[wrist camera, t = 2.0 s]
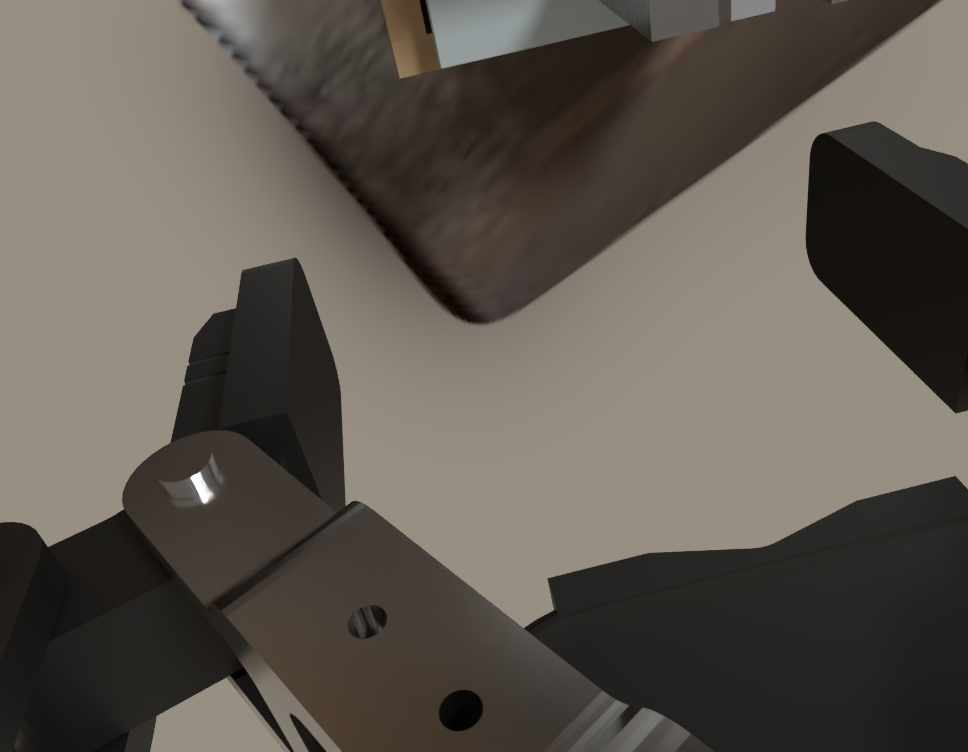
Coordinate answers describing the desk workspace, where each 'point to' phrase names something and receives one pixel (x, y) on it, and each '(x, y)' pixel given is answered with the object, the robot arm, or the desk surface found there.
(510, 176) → the desk surface
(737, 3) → the lid
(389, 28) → the wooden box
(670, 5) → the grey angled block
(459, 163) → the desk surface
